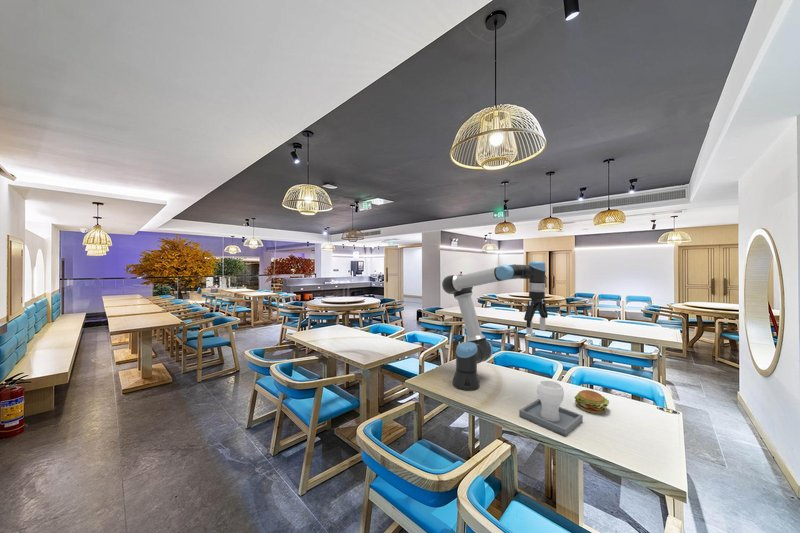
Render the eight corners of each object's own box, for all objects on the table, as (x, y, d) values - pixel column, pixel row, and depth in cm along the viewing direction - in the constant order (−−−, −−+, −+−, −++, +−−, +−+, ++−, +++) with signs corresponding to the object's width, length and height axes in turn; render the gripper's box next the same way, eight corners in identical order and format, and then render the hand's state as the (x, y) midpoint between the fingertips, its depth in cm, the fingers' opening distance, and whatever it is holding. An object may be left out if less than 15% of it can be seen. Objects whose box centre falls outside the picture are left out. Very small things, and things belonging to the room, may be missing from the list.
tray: (519, 416, 138) (519, 410, 138) (538, 404, 150) (538, 398, 150) (565, 436, 123) (565, 429, 123) (582, 421, 134) (582, 415, 134)
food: (596, 418, 137) (596, 401, 137) (568, 404, 150) (569, 388, 150) (616, 413, 142) (616, 396, 142) (587, 399, 155) (588, 384, 155)
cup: (566, 424, 130) (567, 390, 129) (540, 422, 132) (541, 388, 131) (558, 412, 140) (559, 380, 140) (534, 410, 142) (535, 378, 142)
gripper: (531, 293, 145) (530, 337, 145) (555, 290, 160) (554, 329, 161) (517, 291, 151) (516, 333, 151) (541, 289, 166) (540, 327, 167)
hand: (535, 331), depth 156 cm, fingers open, 13 cm apart
